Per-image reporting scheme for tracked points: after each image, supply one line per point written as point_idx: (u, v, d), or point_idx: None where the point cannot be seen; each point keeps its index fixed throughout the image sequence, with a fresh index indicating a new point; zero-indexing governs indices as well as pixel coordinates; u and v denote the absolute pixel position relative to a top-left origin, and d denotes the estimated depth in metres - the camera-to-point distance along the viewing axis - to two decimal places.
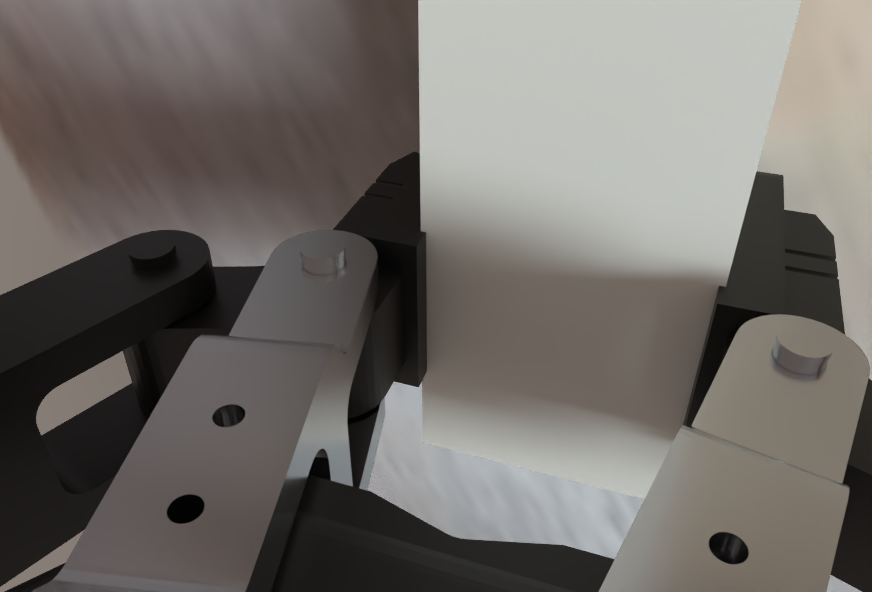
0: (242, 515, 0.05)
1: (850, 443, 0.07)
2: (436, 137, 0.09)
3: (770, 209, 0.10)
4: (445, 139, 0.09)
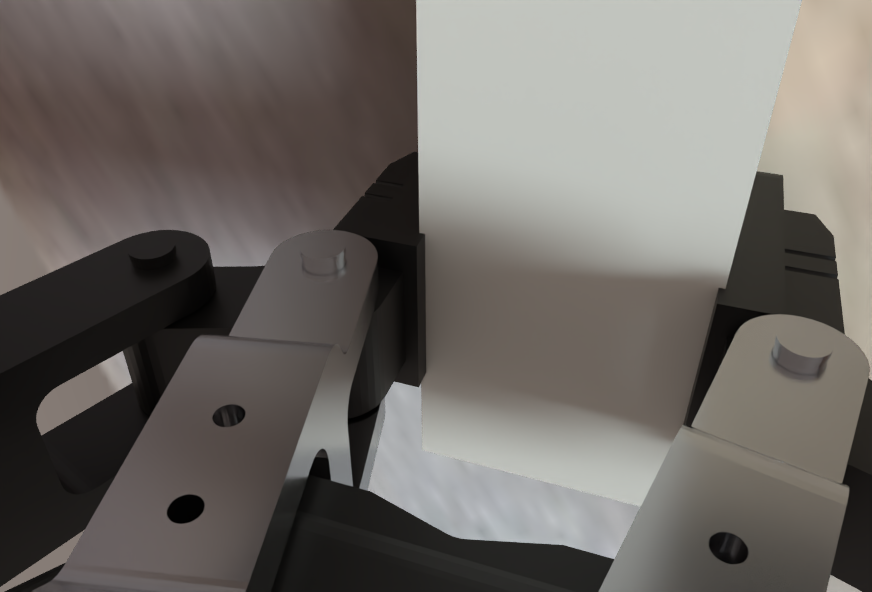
0: (242, 515, 0.05)
1: (850, 443, 0.07)
2: (434, 149, 0.09)
3: (770, 209, 0.10)
4: (443, 151, 0.09)
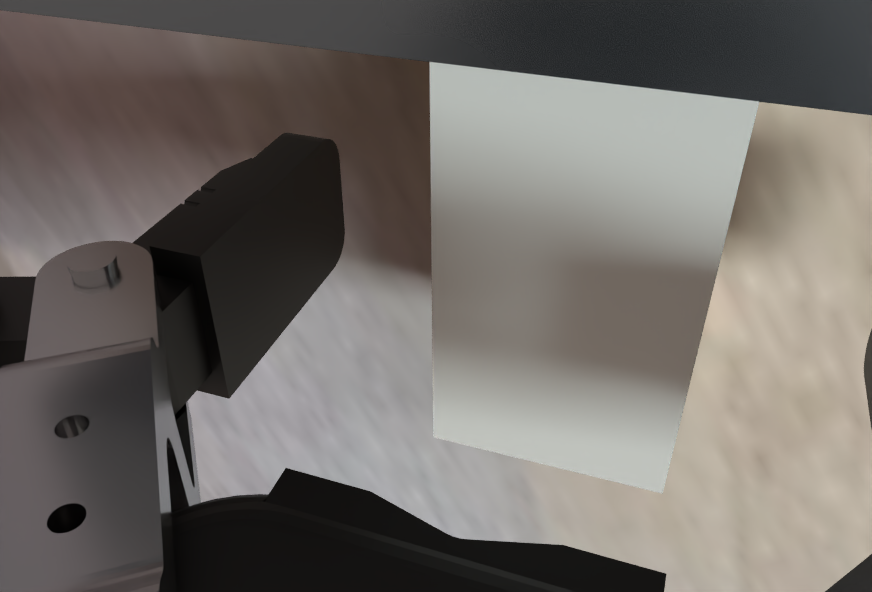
0: (130, 505, 0.05)
1: None
2: (445, 156, 0.09)
3: None
4: (454, 158, 0.09)
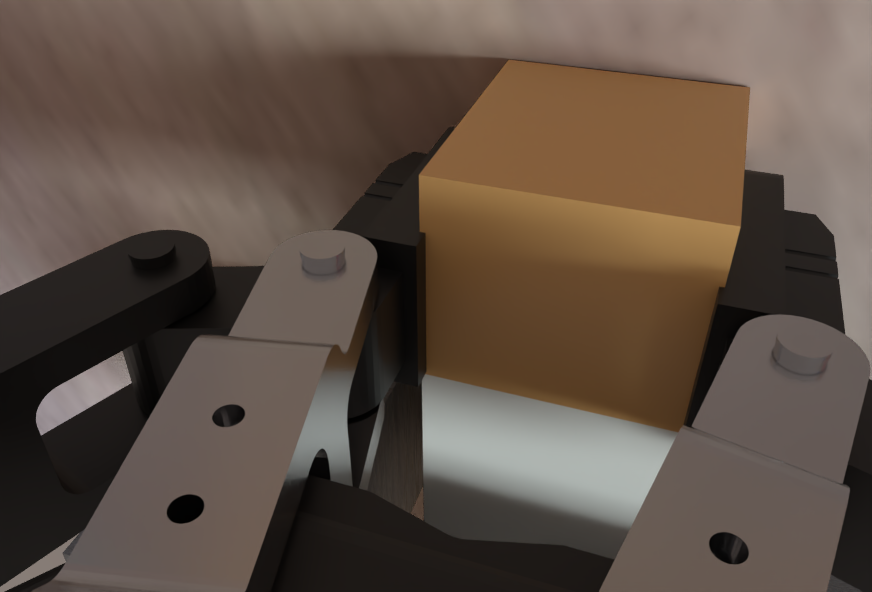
0: (242, 515, 0.05)
1: (851, 443, 0.07)
2: None
3: (770, 209, 0.10)
4: None
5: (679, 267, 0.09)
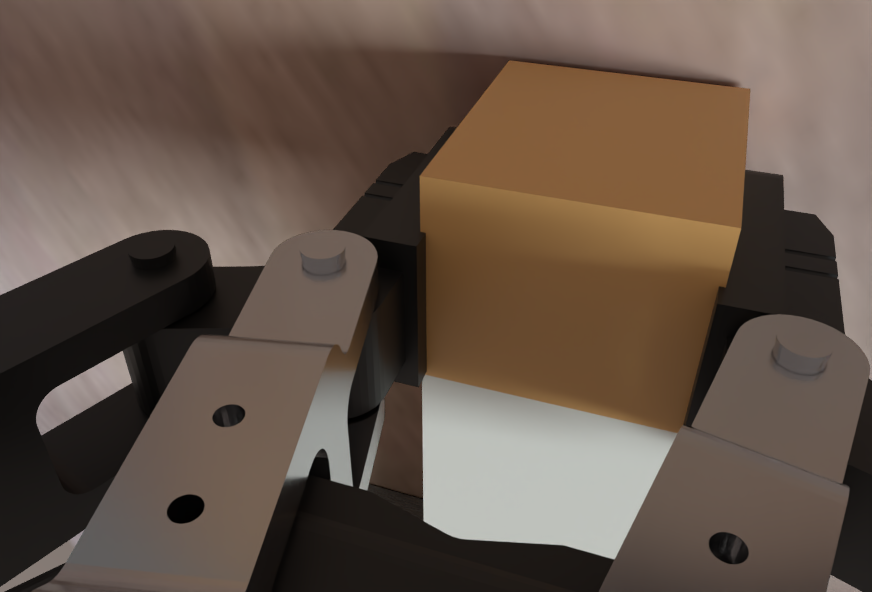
0: (242, 517, 0.05)
1: (850, 443, 0.07)
2: None
3: (770, 209, 0.10)
4: None
5: (680, 269, 0.09)
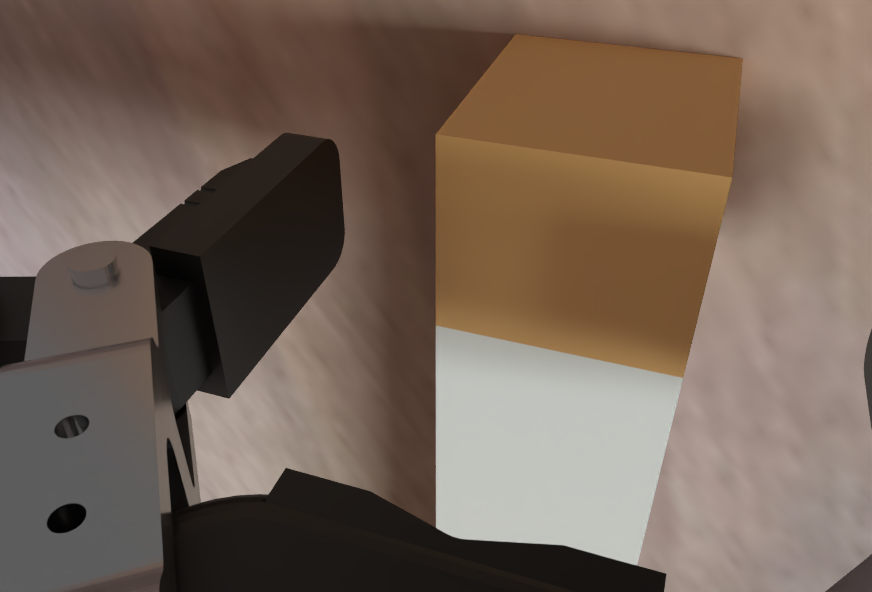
0: (130, 505, 0.05)
1: None
2: None
3: None
4: None
5: (676, 217, 0.09)
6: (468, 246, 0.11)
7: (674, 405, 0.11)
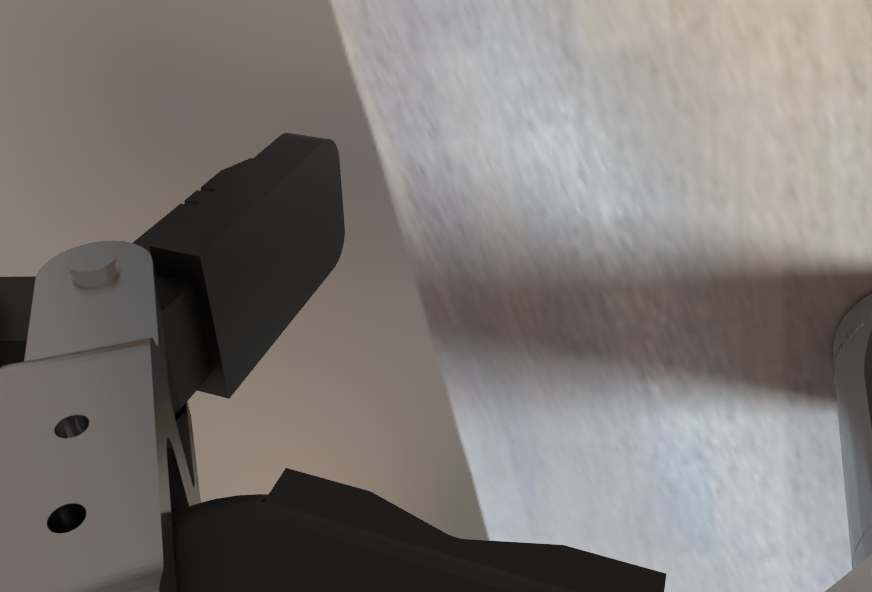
0: (130, 503, 0.05)
1: None
2: None
3: None
4: None
5: None
6: None
7: None
